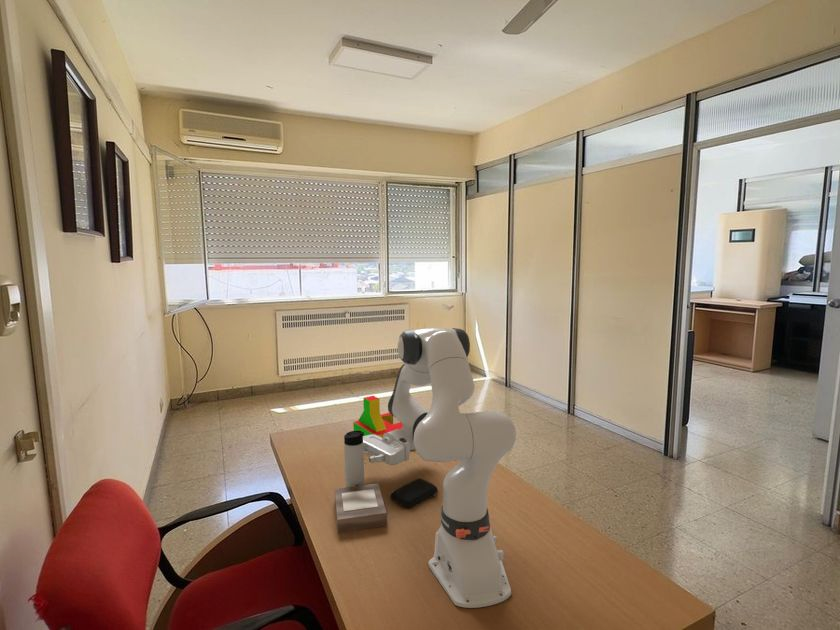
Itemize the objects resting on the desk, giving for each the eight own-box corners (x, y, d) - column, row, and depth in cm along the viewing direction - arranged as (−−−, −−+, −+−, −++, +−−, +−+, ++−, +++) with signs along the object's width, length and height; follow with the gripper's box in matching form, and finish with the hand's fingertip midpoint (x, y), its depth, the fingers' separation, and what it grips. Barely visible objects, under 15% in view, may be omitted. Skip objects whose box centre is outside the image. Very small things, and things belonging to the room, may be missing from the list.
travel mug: (361, 495, 144) (360, 436, 141) (342, 492, 145) (340, 435, 143) (367, 485, 150) (366, 429, 147) (349, 483, 152) (347, 427, 149)
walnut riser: (386, 525, 128) (386, 512, 127) (337, 532, 125) (337, 519, 124) (378, 494, 144) (378, 482, 144) (335, 500, 141) (334, 488, 140)
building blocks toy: (384, 456, 172) (383, 411, 169) (353, 436, 192) (352, 395, 189) (422, 444, 183) (422, 402, 181) (390, 426, 203) (389, 387, 200)
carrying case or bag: (410, 514, 134) (442, 495, 144) (410, 504, 134) (442, 486, 144) (387, 500, 141) (419, 483, 152) (387, 491, 141) (419, 475, 151)
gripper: (375, 427, 165) (344, 437, 155) (412, 443, 150) (380, 456, 141) (375, 443, 166) (344, 454, 156) (412, 461, 151) (380, 475, 141)
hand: (361, 455), depth 148 cm, fingers open, 8 cm apart
